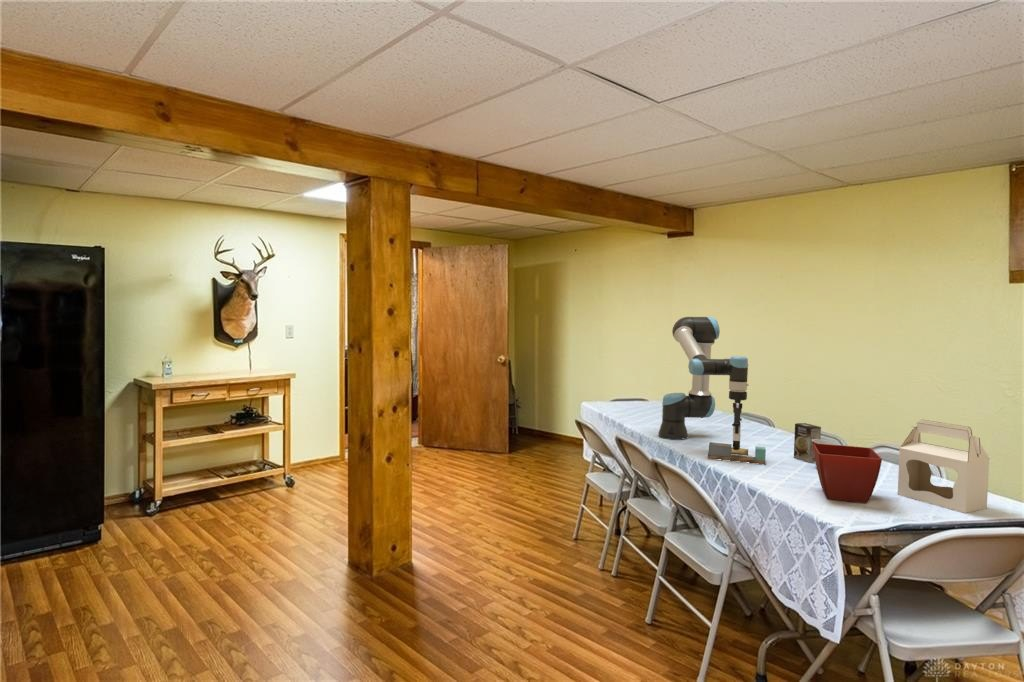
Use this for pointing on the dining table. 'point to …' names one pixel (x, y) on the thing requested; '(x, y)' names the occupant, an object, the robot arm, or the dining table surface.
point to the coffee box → (805, 441)
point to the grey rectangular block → (720, 449)
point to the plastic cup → (823, 442)
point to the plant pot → (847, 471)
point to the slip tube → (738, 448)
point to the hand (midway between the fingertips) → (736, 437)
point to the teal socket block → (760, 453)
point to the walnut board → (737, 458)
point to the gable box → (967, 464)
